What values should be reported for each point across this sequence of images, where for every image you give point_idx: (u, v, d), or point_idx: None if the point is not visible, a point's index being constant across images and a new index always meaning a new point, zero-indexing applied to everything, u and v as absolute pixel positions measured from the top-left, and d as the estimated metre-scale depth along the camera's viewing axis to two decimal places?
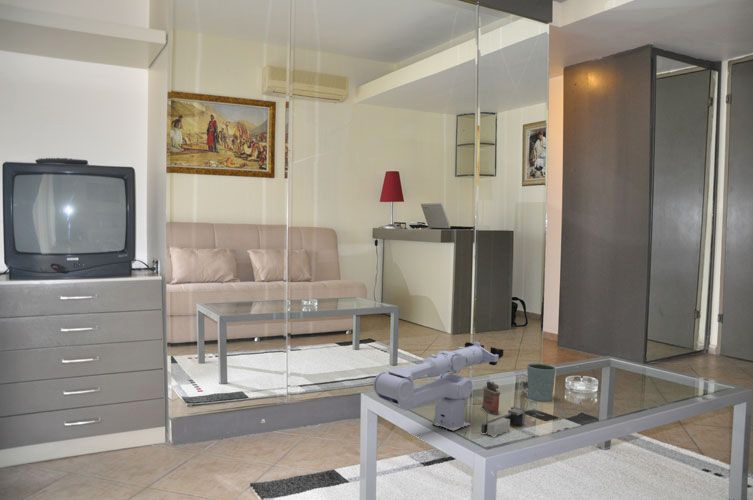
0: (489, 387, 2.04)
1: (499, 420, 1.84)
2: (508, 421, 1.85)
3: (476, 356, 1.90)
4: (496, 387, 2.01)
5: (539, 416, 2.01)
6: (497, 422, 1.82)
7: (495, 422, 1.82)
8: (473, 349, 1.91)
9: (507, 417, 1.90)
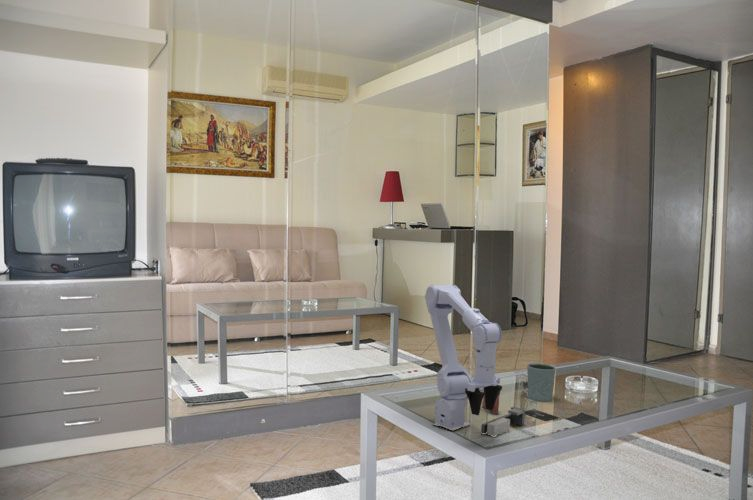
0: None
1: (499, 420, 1.84)
2: (508, 421, 1.85)
3: (481, 369, 1.72)
4: None
5: (539, 416, 2.01)
6: (497, 422, 1.82)
7: (495, 422, 1.82)
8: (489, 371, 1.72)
9: (507, 417, 1.90)
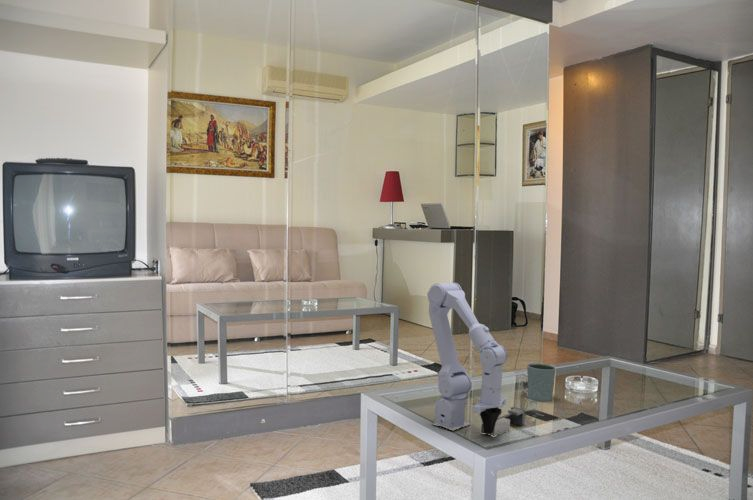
0: None
1: (499, 420, 1.84)
2: (508, 421, 1.85)
3: (487, 391, 1.76)
4: None
5: (539, 416, 2.01)
6: (497, 422, 1.82)
7: None
8: (495, 393, 1.75)
9: (507, 417, 1.90)
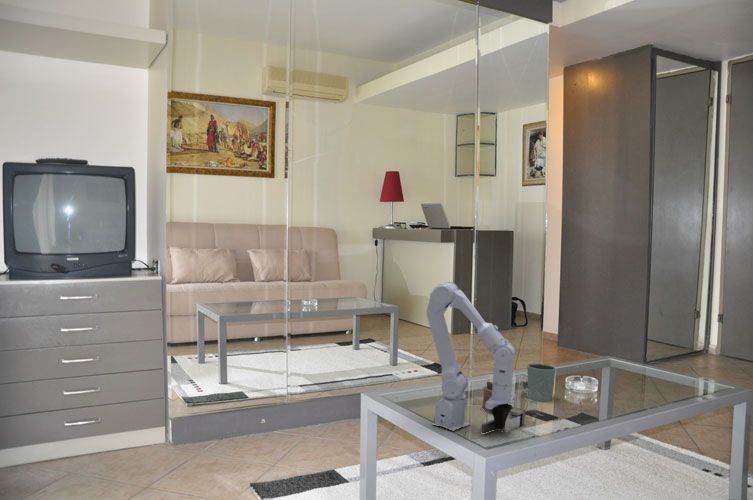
0: (489, 387, 2.04)
1: (510, 416, 1.89)
2: (519, 417, 1.89)
3: (498, 388, 1.80)
4: None
5: (539, 416, 2.01)
6: (508, 417, 1.87)
7: None
8: (506, 389, 1.80)
9: None
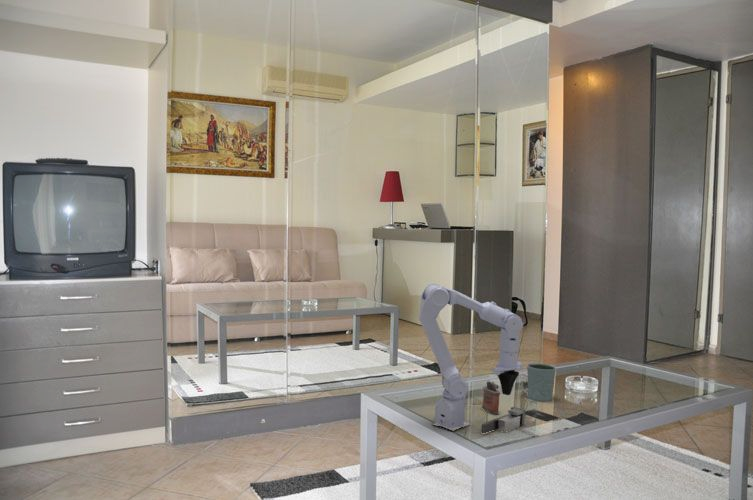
0: (489, 387, 2.04)
1: (510, 416, 1.89)
2: (519, 417, 1.89)
3: (505, 355, 1.87)
4: (496, 387, 2.01)
5: (539, 416, 2.01)
6: (508, 417, 1.87)
7: (506, 418, 1.86)
8: (513, 356, 1.86)
9: None
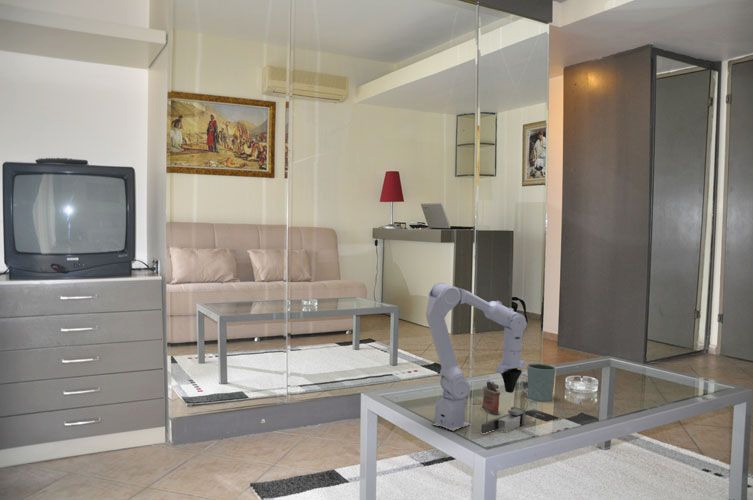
0: (489, 387, 2.04)
1: (510, 416, 1.89)
2: (519, 417, 1.89)
3: (508, 353, 1.90)
4: (496, 387, 2.01)
5: (539, 416, 2.01)
6: (508, 417, 1.87)
7: (506, 418, 1.86)
8: (516, 354, 1.90)
9: None
